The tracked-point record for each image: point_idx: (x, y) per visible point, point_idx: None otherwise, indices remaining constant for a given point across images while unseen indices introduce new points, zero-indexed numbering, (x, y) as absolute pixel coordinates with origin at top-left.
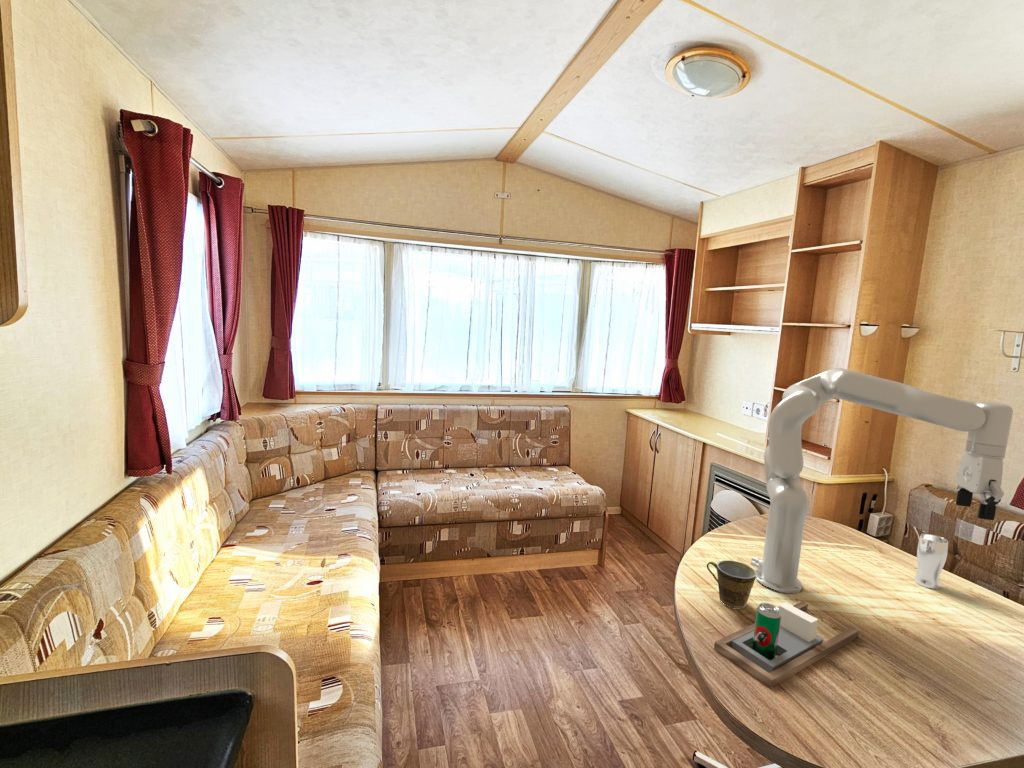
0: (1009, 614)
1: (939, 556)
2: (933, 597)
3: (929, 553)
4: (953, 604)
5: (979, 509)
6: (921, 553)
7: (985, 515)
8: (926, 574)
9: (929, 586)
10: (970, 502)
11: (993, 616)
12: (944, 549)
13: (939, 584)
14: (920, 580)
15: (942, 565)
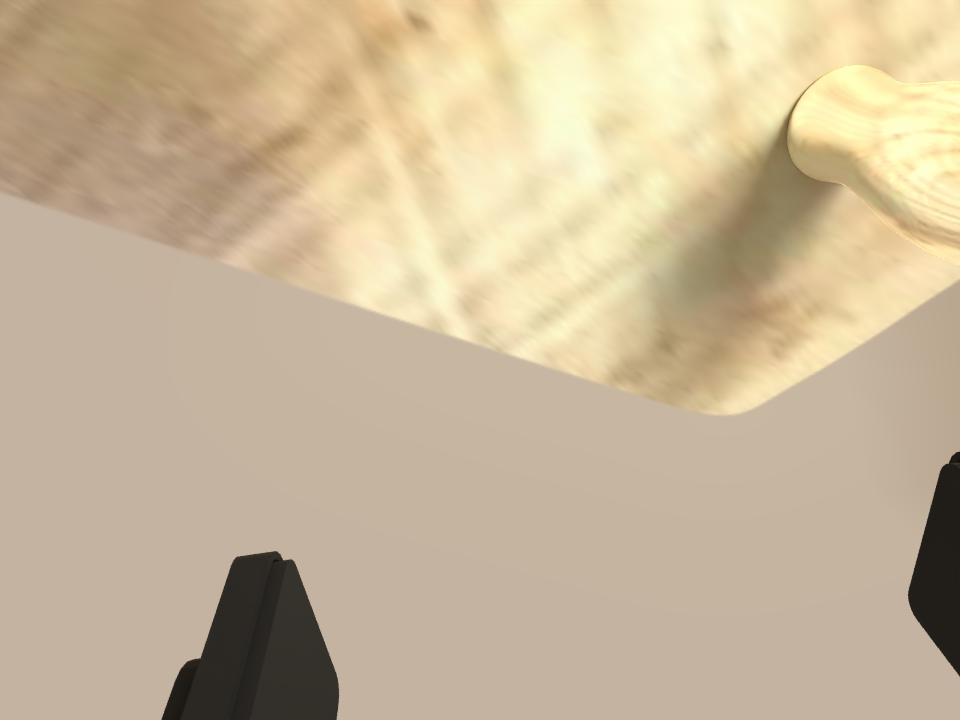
0: (638, 378)
1: (894, 194)
2: (683, 107)
3: (921, 136)
4: (640, 183)
5: (206, 700)
6: (951, 94)
7: (182, 675)
8: (843, 114)
9: (794, 122)
10: (955, 663)
11: (590, 314)
12: (932, 236)
13: (820, 179)
14: (832, 84)
15: (867, 205)
